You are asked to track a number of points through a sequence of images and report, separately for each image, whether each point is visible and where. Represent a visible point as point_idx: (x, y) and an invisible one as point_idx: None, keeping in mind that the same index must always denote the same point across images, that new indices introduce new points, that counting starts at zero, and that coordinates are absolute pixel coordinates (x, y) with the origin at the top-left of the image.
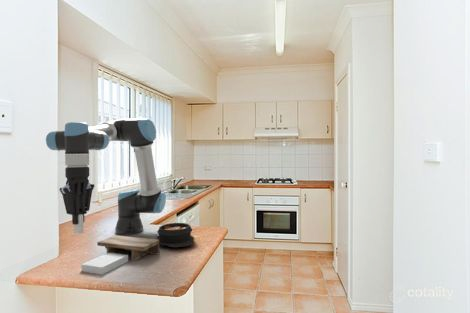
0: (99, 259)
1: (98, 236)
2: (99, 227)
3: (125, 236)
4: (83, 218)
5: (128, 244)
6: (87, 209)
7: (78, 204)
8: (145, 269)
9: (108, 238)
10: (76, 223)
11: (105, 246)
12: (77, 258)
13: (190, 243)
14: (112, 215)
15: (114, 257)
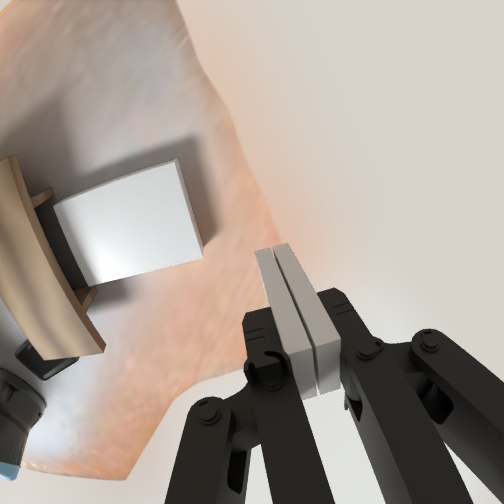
0: (138, 250)
1: (80, 416)
2: (71, 442)
3: (20, 326)
4: (256, 337)
5: (28, 240)
6: (219, 411)
7: (400, 450)
8: (71, 79)
9: (66, 353)
10: (331, 294)
11: (78, 357)
12: (164, 345)
13: None
14: (46, 457)
15: (93, 224)
